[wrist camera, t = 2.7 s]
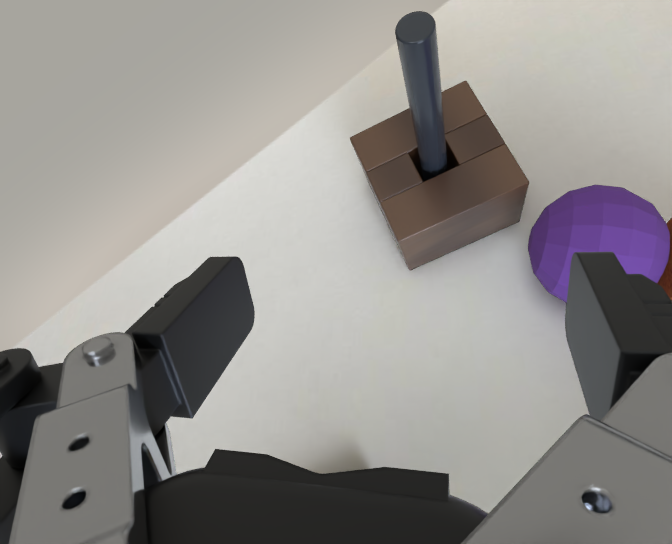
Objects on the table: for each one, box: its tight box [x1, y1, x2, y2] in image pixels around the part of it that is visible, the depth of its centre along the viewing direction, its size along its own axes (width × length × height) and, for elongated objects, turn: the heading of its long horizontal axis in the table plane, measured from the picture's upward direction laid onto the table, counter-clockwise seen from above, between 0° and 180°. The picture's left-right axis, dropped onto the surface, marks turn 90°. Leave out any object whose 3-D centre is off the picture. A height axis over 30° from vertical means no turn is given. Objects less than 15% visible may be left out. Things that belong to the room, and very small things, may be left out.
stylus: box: [395, 11, 448, 182], centre depth 23 cm, size 1×1×14 cm
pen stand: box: [350, 81, 529, 270], centre depth 27 cm, size 7×7×5 cm
